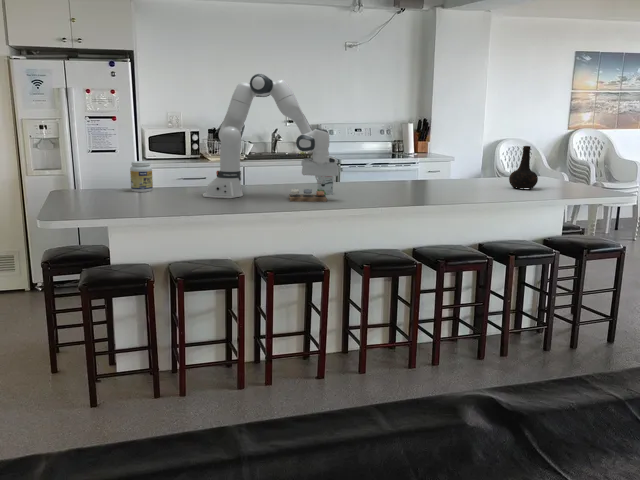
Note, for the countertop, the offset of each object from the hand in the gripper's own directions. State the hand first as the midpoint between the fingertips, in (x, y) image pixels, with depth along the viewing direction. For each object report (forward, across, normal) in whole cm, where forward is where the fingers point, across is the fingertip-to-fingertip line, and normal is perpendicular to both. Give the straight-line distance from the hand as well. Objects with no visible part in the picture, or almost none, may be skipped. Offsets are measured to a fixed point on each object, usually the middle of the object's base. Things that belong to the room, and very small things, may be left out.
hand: (319, 183), depth 332 cm
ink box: (+9, +6, +22) cm, 25 cm away
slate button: (+5, -6, 0) cm, 8 cm away
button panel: (+9, -6, 0) cm, 11 cm away
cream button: (+6, -13, 0) cm, 14 cm away
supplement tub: (+11, -102, +28) cm, 106 cm away
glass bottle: (+6, +138, +51) cm, 147 cm away
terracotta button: (+6, +1, 0) cm, 6 cm away
